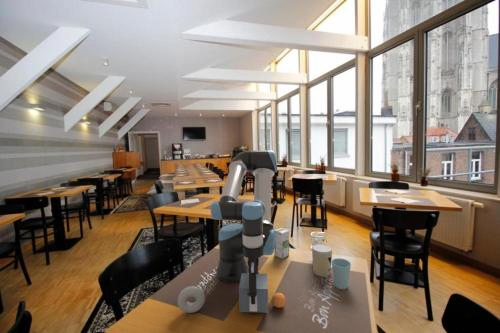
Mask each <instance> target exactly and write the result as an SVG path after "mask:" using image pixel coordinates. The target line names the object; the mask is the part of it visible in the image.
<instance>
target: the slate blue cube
mask: <svg viewBox="0 0 500 333" xmlns="http://www.w3.org/2000/svg"><path fill="white" fill-rule="evenodd" d="M268 289H269V288H268V273H259V274H257V275H256V292H257V312H256V313H269V297H268V296H269V294H268V293H269V291H268ZM247 293H249V273H242V274H241V280H240V281H239V287H238V300H239V301H238V304H239V307H238V308H239V310H238V311H239V313H255V312H254V311H250V306H249V295H247Z"/></svg>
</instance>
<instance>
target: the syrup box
mask: <svg viewBox="0 0 500 333" xmlns="http://www.w3.org/2000/svg"><path fill="white" fill-rule="evenodd" d="M276 231H277V233H276V242H275V249H274V257H277V258H280V259H282V260H283V259H285V258H287V257H289V256H290V230H289V229H287V228H285V227H284V228H283V227H281V228H277V229H276Z"/></svg>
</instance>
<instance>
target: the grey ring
mask: <svg viewBox="0 0 500 333" xmlns="http://www.w3.org/2000/svg"><path fill="white" fill-rule="evenodd" d="M205 296H206V295H205V292H204V291H203V289H201V288H200V287H199V286H195V285H190V286H186V287H185V288H183V289H182V290H181V291H180V292H179V294H178V296H177V301H176V302H177V306H178V308H179V309H180V310H181V311H182V312H183V313H187V314H193V313H196V312H198V311H200V310H201V308H202V307H203V306H204V304H205V301H206V297H205ZM189 297H193V298H195V301H193V302H189V301H188V298H189Z"/></svg>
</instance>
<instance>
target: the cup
mask: <svg viewBox="0 0 500 333" xmlns="http://www.w3.org/2000/svg"><path fill="white" fill-rule="evenodd" d="M351 265H352V264H351V261H349V260H347V259H344V258H339V257H338V258H333V259H331V270H332V279H333V285H334V287H335V288H337V289H339V290H346V289H348V287H349V280H350V274H351V273H350V272H351Z"/></svg>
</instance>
